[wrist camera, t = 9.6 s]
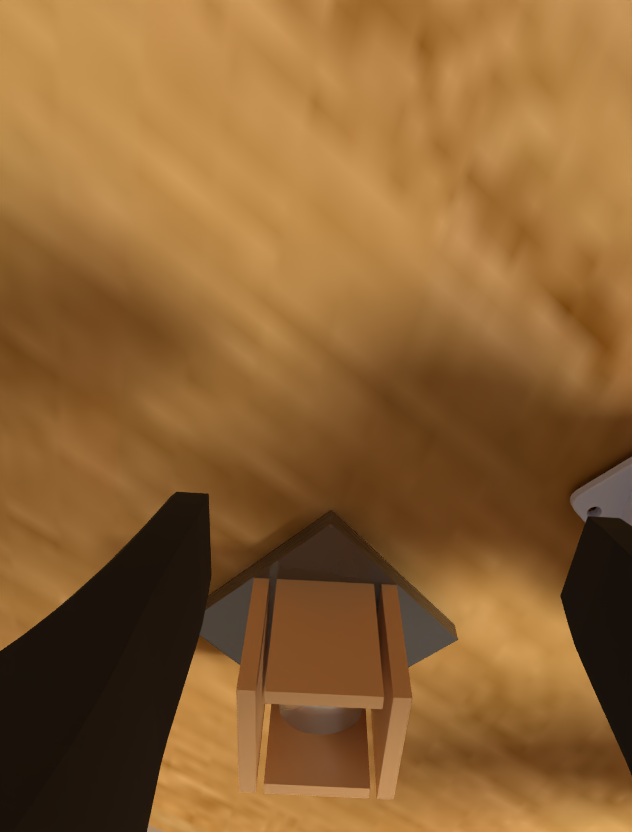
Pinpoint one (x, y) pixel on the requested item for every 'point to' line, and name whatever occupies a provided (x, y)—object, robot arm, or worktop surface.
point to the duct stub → (334, 562)
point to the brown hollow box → (323, 687)
